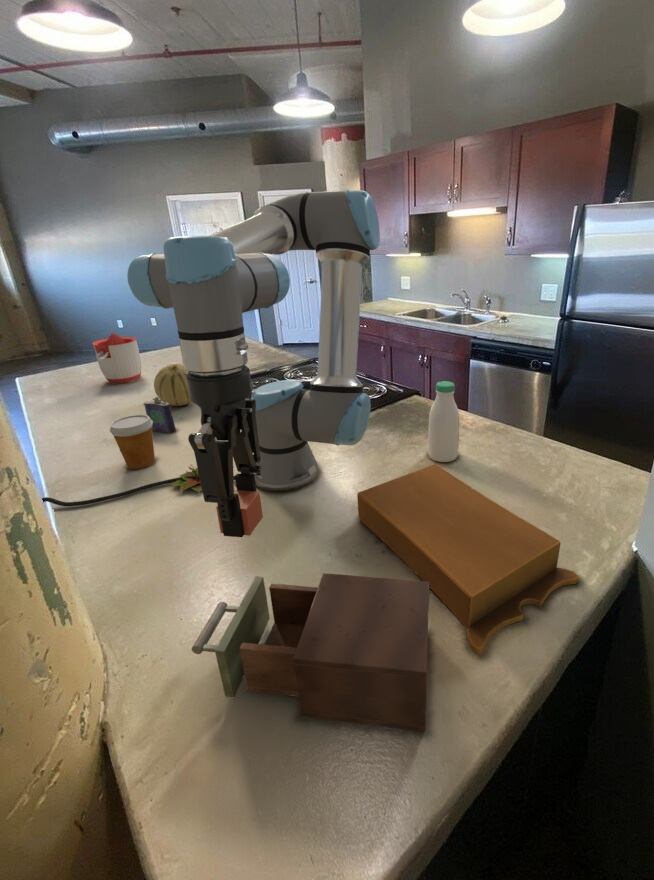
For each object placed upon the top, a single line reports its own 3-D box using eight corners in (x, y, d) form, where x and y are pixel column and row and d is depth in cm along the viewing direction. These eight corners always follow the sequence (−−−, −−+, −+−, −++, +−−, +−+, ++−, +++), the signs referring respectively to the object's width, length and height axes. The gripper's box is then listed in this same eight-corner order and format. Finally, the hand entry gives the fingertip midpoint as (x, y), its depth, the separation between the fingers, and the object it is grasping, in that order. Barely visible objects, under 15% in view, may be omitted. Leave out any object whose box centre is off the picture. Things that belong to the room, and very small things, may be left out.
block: (220, 533, 59) (215, 506, 57) (235, 514, 63) (231, 489, 61) (250, 536, 58) (246, 509, 56) (263, 516, 62) (259, 491, 61)
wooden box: (440, 461, 94) (585, 549, 66) (440, 486, 96) (579, 581, 68) (350, 495, 82) (480, 619, 54) (351, 523, 84) (477, 655, 56)
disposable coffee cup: (169, 458, 110) (160, 417, 106) (136, 475, 102) (124, 431, 98) (145, 451, 114) (135, 411, 110) (111, 468, 106) (99, 425, 102)
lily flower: (159, 490, 96) (155, 472, 95) (197, 465, 107) (194, 449, 105) (199, 500, 92) (196, 482, 90) (235, 473, 103) (233, 457, 101)
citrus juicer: (90, 386, 168) (76, 338, 161) (122, 373, 184) (110, 329, 177) (124, 388, 166) (111, 338, 159) (153, 375, 182) (143, 329, 175)
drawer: (187, 692, 52) (175, 646, 49) (231, 614, 62) (222, 573, 60) (333, 709, 49) (328, 662, 47) (352, 626, 60) (349, 583, 57)
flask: (148, 429, 128) (140, 397, 124) (155, 426, 130) (148, 394, 127) (171, 433, 125) (164, 400, 121) (179, 429, 128) (172, 397, 124)
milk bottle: (457, 464, 105) (460, 389, 98) (426, 461, 106) (428, 387, 99) (458, 450, 112) (461, 379, 105) (429, 447, 113) (431, 378, 106)
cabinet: (300, 716, 50) (293, 658, 46) (327, 624, 61) (322, 572, 58) (425, 731, 48) (426, 672, 44) (427, 634, 60) (429, 581, 56)
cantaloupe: (189, 394, 158) (181, 355, 152) (212, 402, 149) (204, 361, 144) (150, 406, 146) (140, 365, 141) (172, 415, 138) (162, 372, 133)
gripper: (208, 391, 44) (239, 569, 52) (273, 352, 60) (288, 492, 68) (143, 389, 45) (183, 564, 53) (224, 351, 61) (245, 489, 69)
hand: (242, 523), depth 60 cm, fingers closed on block, 4 cm apart
